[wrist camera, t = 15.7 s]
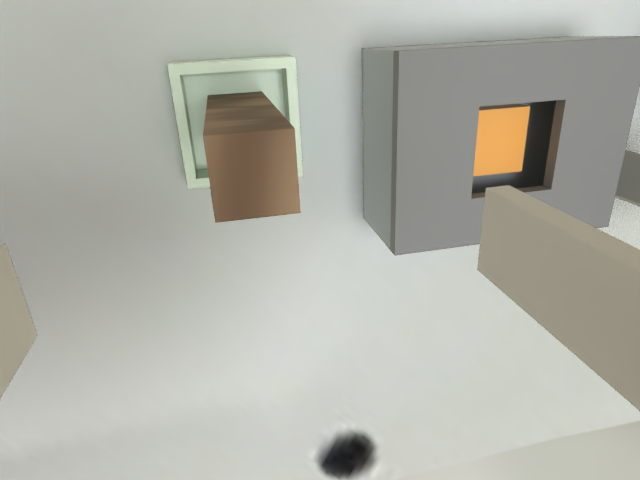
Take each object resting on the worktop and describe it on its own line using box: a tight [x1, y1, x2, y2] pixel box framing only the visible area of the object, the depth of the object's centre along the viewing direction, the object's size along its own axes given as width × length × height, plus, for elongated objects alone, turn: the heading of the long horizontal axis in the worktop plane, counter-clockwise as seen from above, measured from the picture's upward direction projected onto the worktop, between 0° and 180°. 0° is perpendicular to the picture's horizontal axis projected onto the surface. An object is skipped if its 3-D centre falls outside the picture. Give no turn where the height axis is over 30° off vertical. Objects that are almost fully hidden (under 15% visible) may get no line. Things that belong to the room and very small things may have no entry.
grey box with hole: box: [362, 36, 640, 255], centre depth 37 cm, size 18×14×8 cm
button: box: [473, 103, 530, 176], centre depth 36 cm, size 5×5×2 cm
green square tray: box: [167, 55, 303, 189], centre depth 35 cm, size 9×9×3 cm
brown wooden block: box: [203, 91, 300, 223], centre depth 28 cm, size 4×4×16 cm
